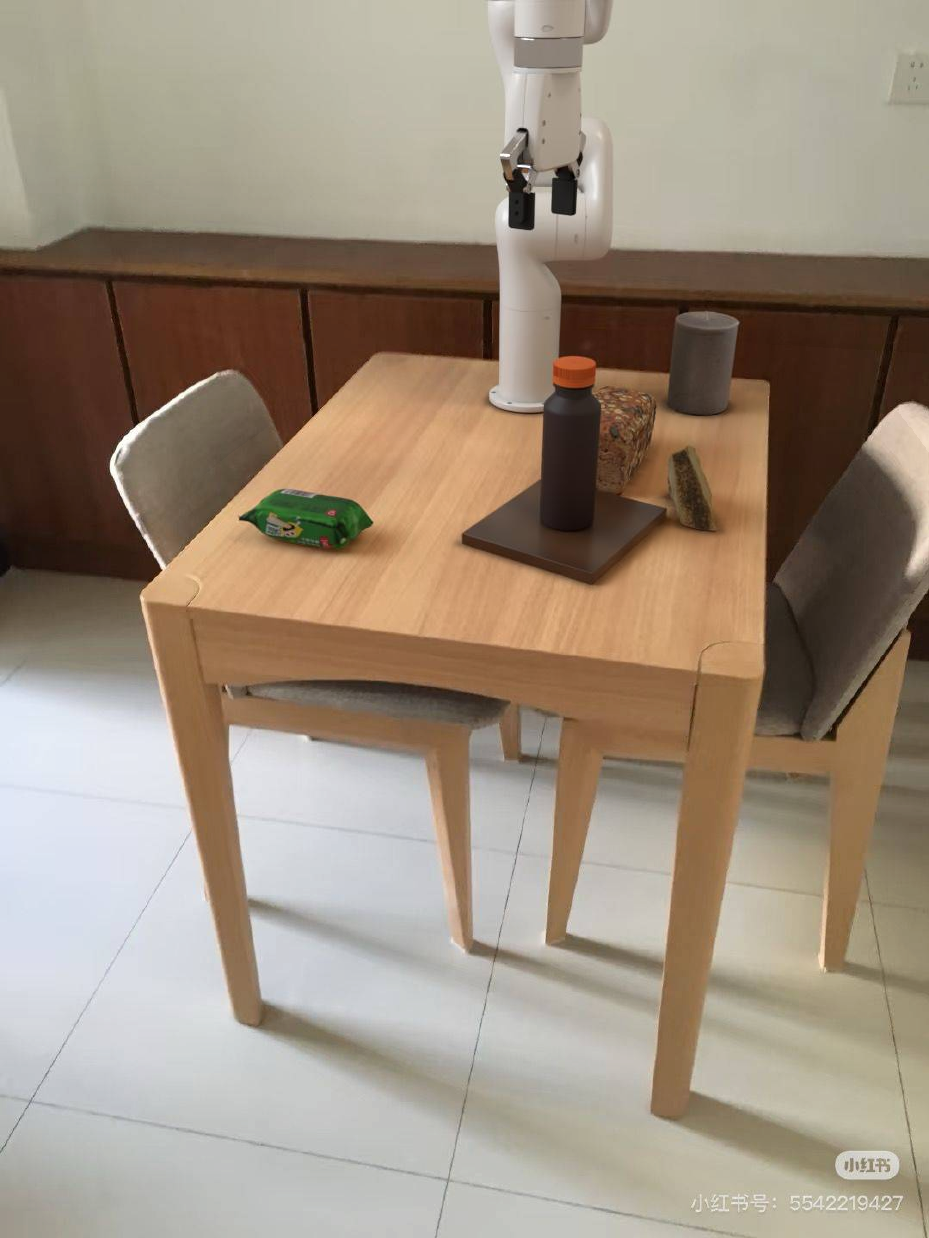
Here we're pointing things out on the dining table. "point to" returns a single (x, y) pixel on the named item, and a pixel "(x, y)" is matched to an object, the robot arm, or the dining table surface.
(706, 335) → the pillar candle
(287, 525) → the snack package
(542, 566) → the serving board
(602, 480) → the bread
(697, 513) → the rock
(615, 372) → the dining table surface
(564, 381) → the vinegar
